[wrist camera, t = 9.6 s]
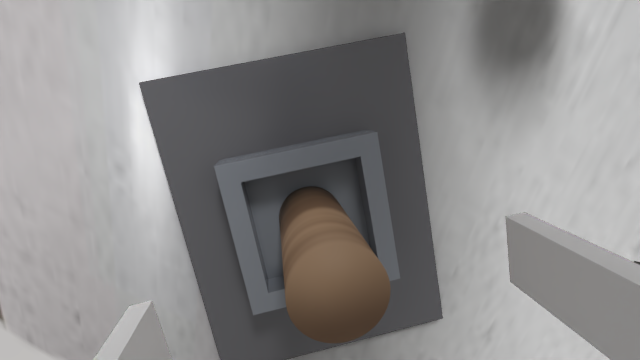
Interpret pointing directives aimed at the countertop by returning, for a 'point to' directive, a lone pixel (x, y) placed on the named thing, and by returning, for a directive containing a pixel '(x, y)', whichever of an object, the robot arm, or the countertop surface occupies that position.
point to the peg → (329, 269)
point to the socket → (295, 181)
